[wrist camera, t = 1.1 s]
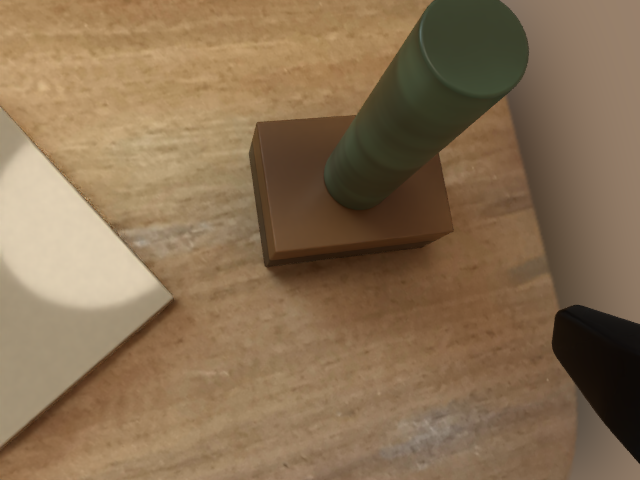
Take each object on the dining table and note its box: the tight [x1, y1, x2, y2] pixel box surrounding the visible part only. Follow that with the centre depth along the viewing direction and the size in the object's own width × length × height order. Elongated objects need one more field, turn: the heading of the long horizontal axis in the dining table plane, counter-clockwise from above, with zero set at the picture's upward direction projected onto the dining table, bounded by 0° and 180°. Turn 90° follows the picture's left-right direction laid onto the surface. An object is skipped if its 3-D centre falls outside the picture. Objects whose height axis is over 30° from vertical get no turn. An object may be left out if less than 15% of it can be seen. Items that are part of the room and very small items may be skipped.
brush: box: [249, 0, 529, 267], centre depth 19 cm, size 5×7×13 cm
